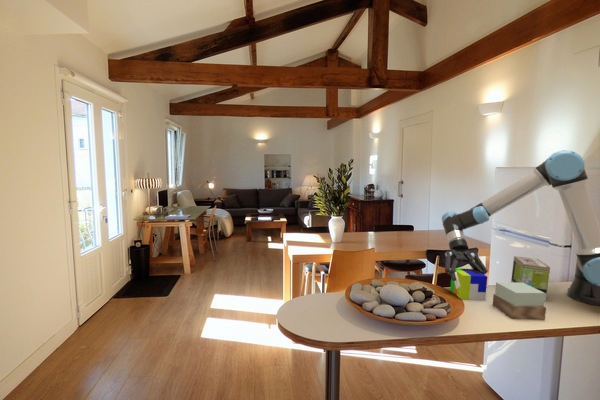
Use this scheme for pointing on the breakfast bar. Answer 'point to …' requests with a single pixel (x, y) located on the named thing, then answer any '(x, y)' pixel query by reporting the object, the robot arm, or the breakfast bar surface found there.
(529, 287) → the grey-green top slab
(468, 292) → the puzzle toy
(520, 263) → the tea box
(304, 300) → the breakfast bar surface
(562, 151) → the robot arm
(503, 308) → the walnut base slab
